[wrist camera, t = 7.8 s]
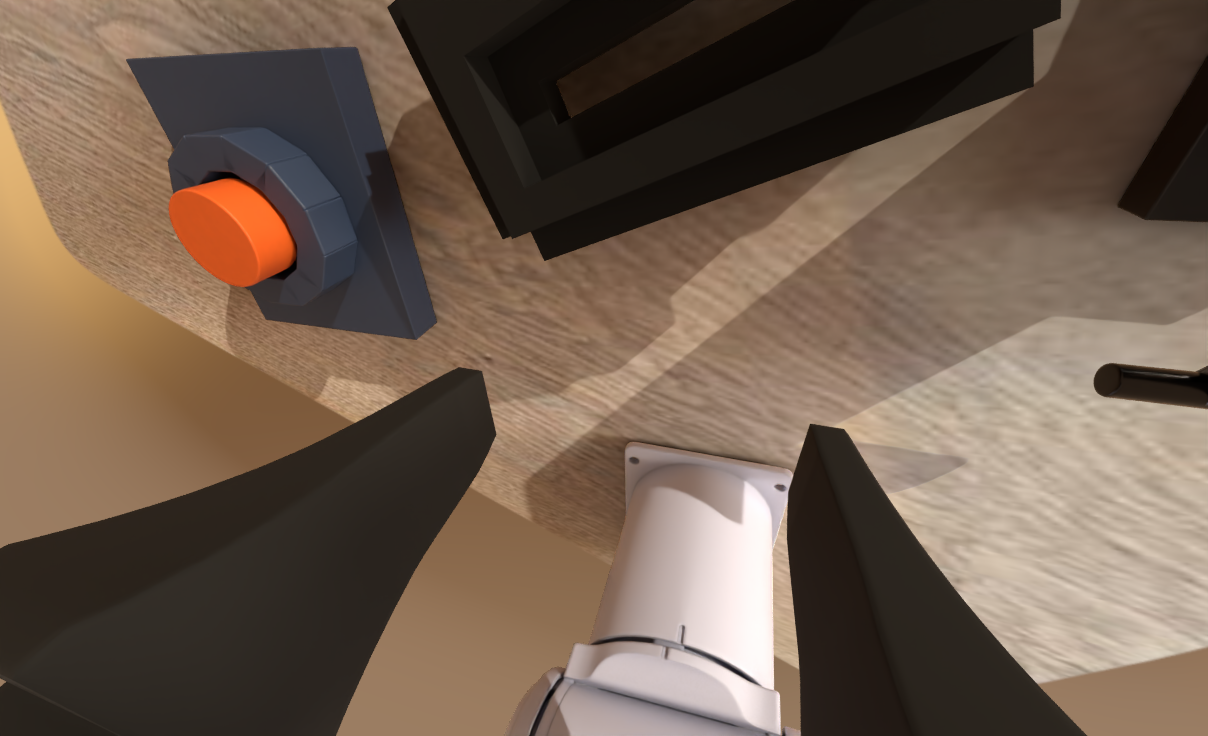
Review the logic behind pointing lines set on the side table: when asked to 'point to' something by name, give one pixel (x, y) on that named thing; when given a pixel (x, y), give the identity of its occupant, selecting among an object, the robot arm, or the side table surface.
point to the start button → (233, 231)
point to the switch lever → (1153, 385)
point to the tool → (695, 98)
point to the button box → (300, 177)
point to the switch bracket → (1176, 164)
